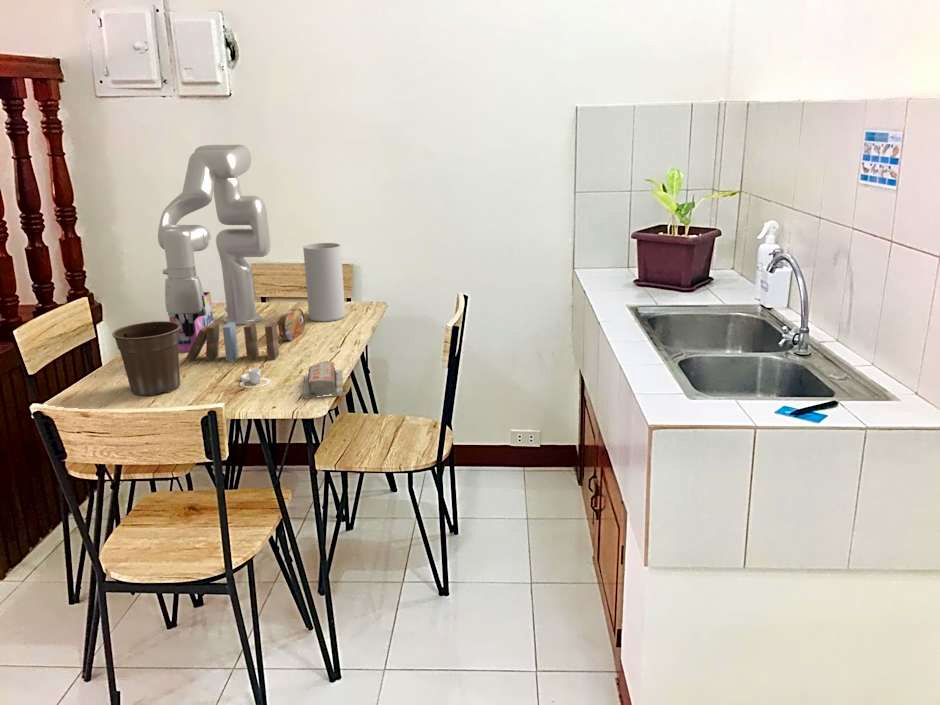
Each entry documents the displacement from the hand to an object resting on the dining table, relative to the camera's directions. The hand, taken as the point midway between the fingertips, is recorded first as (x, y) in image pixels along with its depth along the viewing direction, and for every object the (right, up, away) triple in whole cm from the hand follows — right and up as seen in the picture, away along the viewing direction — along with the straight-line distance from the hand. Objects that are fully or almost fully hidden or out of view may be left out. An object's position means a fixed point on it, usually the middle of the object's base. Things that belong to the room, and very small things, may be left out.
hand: (190, 335), depth 230 cm
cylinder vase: (+32, +7, +46) cm, 56 cm away
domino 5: (+24, -6, +2) cm, 25 cm away
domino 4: (+18, -6, +2) cm, 19 cm away
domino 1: (0, -6, +2) cm, 7 cm away
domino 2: (+6, -7, +2) cm, 9 cm away
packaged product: (+43, -14, -23) cm, 51 cm away
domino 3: (+12, -7, +2) cm, 14 cm away
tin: (+25, 0, +23) cm, 34 cm away
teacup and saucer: (+25, -13, -17) cm, 33 cm away
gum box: (-5, -2, +20) cm, 20 cm away
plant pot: (-1, -15, -23) cm, 27 cm away
